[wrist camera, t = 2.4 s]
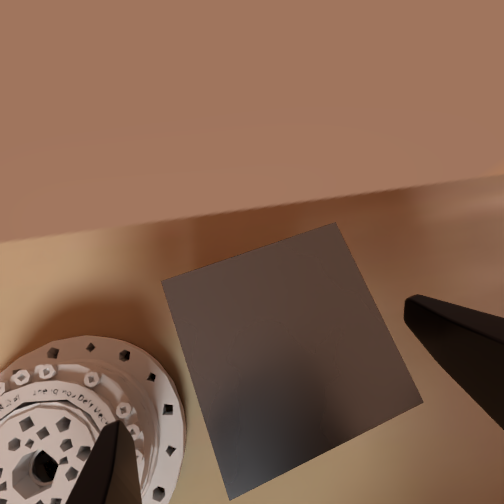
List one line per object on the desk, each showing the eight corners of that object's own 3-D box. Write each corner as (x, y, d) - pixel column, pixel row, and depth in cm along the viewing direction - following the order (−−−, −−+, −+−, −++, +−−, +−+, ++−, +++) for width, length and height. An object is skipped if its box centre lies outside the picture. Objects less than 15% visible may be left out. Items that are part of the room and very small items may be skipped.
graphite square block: (299, 372, 17) (423, 402, 7) (221, 407, 16) (229, 500, 6) (268, 296, 18) (335, 222, 8) (194, 324, 17) (161, 281, 7)
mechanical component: (156, 310, 18) (-41, 378, 16) (138, 297, 14) (-134, 387, 12) (212, 506, 15) (-15, 616, 13) (210, 564, 11) (-122, 738, 9)
